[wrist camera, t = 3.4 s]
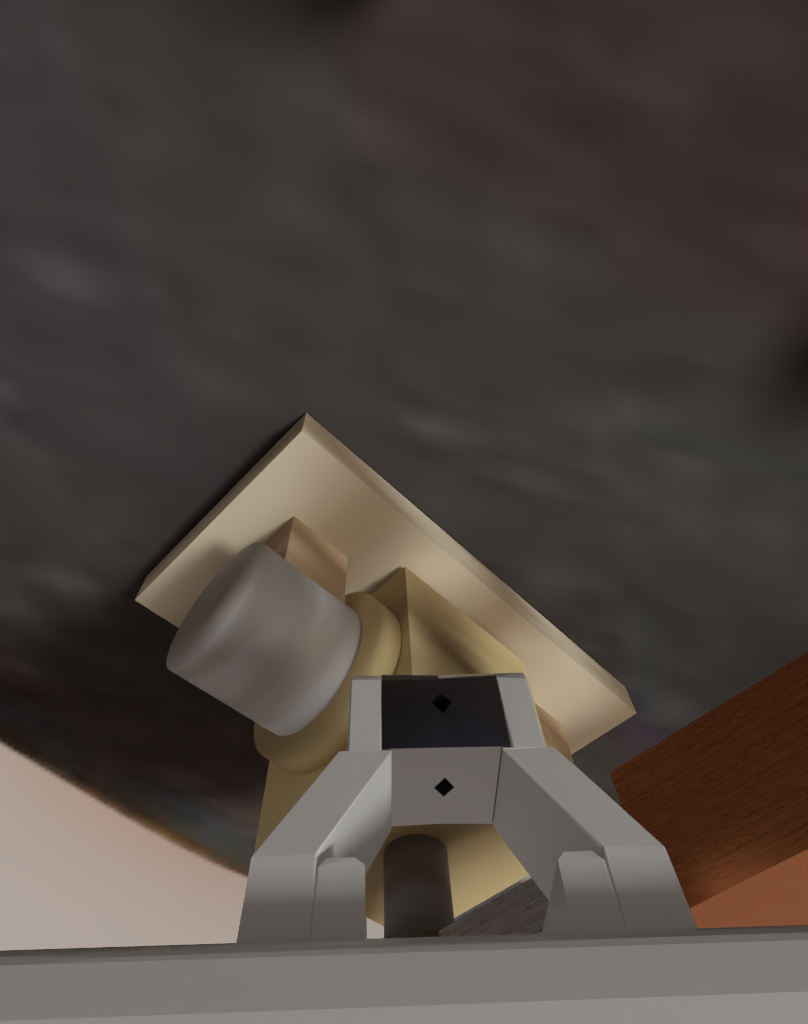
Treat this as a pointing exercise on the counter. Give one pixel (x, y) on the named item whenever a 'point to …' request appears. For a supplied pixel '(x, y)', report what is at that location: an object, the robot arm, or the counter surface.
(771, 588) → the counter surface
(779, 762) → the valve lever
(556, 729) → the valve fixture
